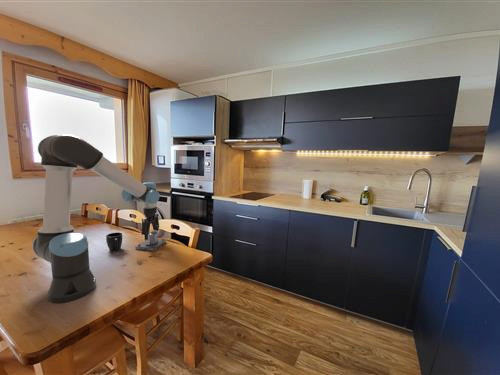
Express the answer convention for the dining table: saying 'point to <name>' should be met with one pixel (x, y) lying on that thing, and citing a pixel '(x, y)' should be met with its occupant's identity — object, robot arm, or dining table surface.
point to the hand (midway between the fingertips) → (151, 242)
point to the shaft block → (150, 247)
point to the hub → (153, 237)
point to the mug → (114, 241)
